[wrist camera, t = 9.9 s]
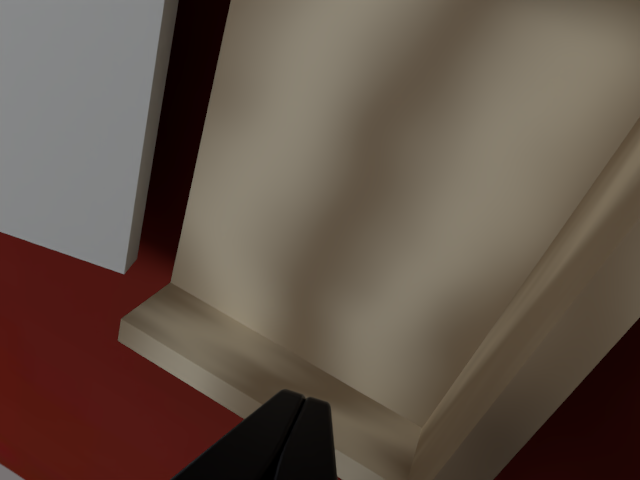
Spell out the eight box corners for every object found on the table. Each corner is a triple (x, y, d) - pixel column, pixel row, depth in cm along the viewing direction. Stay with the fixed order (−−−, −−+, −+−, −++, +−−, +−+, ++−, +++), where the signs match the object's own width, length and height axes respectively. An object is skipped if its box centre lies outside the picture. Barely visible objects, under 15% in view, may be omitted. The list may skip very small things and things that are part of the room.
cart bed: (771, -17, 12) (961, -40, 7) (444, 426, 21) (412, 569, 16) (305, -182, 14) (163, -300, 9) (192, 282, 24) (88, 363, 18)
